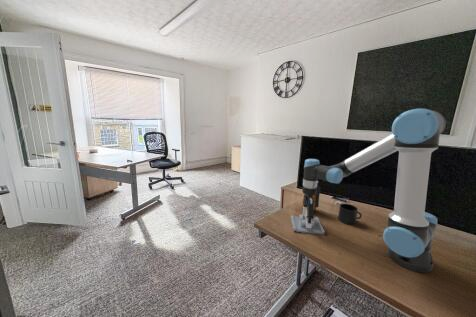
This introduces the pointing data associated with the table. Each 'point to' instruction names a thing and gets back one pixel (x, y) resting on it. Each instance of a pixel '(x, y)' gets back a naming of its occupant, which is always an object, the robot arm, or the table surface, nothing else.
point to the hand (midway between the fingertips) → (306, 222)
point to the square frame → (304, 221)
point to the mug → (348, 214)
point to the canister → (314, 198)
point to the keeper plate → (316, 230)
